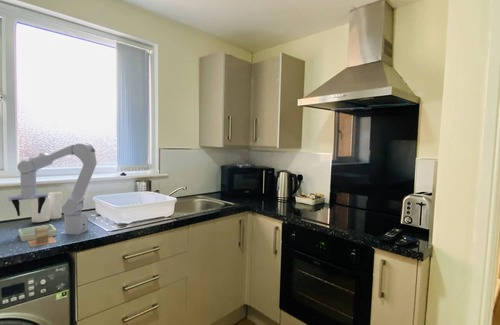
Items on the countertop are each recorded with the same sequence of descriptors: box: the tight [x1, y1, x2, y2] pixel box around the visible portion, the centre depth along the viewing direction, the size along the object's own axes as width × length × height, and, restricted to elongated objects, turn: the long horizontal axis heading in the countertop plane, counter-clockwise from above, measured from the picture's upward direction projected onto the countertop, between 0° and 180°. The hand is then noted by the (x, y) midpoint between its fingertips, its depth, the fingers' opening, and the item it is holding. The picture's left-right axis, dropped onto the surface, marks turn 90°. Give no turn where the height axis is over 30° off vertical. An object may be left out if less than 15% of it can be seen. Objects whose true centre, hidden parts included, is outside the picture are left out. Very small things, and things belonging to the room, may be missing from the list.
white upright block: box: [47, 191, 64, 220], centre depth 159 cm, size 7×7×15 cm
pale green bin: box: [18, 223, 58, 242], centre depth 128 cm, size 13×13×3 cm
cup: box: [30, 196, 51, 223], centre depth 150 cm, size 8×8×14 cm
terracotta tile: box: [27, 236, 57, 248], centre depth 120 cm, size 9×9×1 cm
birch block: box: [34, 225, 49, 244], centre depth 120 cm, size 4×4×6 cm
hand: (29, 214), depth 130 cm, fingers open, 7 cm apart
